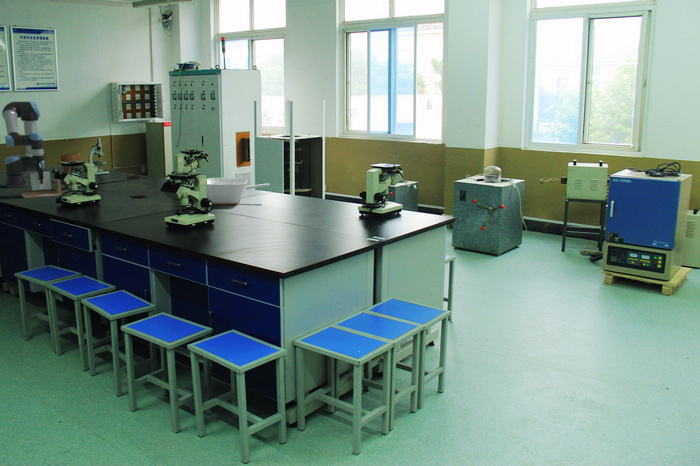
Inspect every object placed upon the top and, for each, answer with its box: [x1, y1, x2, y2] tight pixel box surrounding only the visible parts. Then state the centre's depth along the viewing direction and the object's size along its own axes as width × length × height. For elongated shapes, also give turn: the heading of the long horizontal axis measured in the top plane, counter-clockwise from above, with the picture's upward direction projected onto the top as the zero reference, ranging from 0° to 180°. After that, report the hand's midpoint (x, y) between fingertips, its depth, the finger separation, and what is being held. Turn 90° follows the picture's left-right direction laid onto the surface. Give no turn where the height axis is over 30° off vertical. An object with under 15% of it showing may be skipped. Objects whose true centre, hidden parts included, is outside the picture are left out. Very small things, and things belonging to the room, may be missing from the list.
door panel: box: [29, 171, 52, 191], centre depth 425 cm, size 3×12×12 cm, turn 126°
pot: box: [205, 177, 270, 205], centre depth 411 cm, size 29×44×15 cm, turn 92°
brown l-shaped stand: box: [21, 169, 63, 199], centre depth 426 cm, size 12×24×17 cm, turn 126°
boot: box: [60, 152, 81, 189], centre depth 458 cm, size 25×9×27 cm, turn 134°
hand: (41, 188), depth 426 cm, fingers closed on door panel, 3 cm apart
